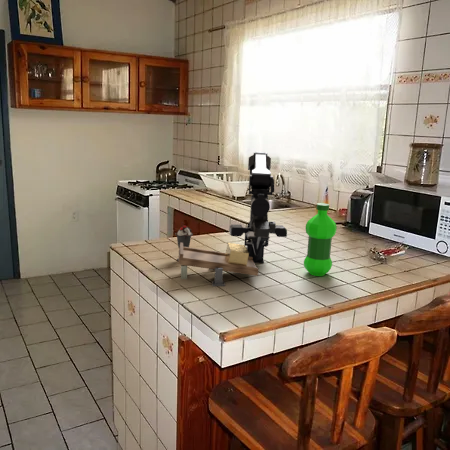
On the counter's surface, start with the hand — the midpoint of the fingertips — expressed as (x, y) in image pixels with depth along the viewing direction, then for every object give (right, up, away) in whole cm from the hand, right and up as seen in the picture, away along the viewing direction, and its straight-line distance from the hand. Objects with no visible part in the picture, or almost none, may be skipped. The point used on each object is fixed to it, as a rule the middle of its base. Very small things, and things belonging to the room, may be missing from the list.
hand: (256, 255), depth 154 cm
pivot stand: (-19, -7, 0) cm, 20 cm away
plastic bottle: (+22, -7, +7) cm, 24 cm away
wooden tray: (-13, -3, -1) cm, 14 cm away
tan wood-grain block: (-7, -2, 0) cm, 8 cm away
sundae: (-26, -3, +17) cm, 31 cm away
